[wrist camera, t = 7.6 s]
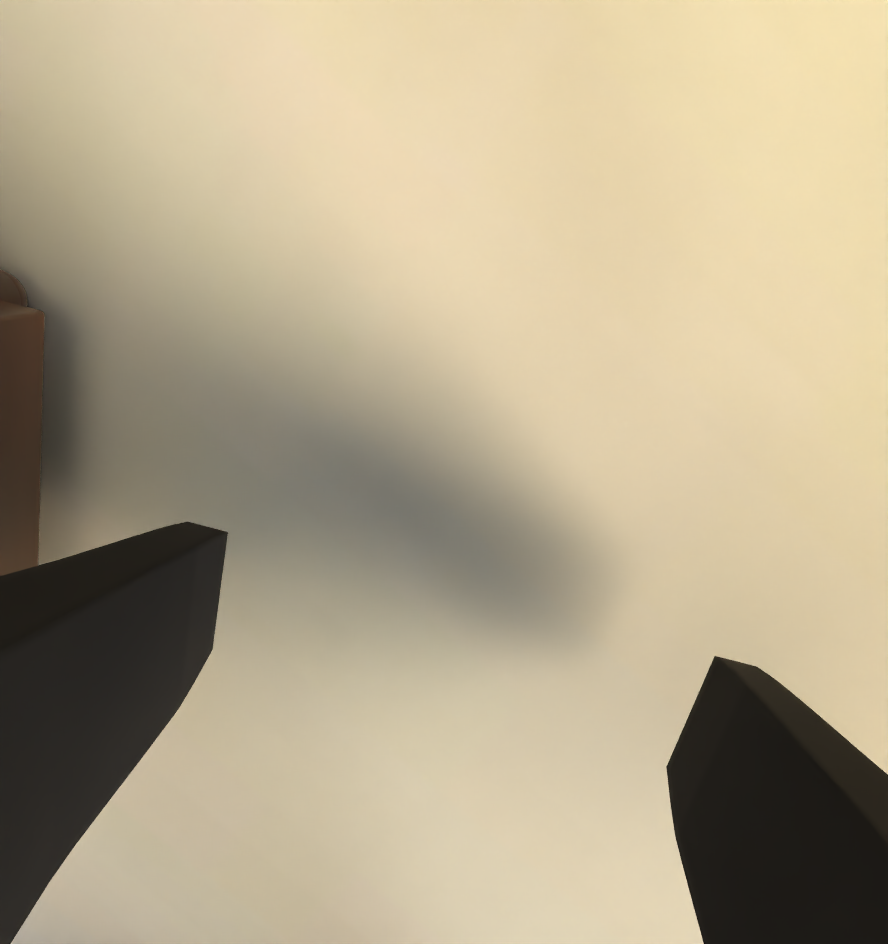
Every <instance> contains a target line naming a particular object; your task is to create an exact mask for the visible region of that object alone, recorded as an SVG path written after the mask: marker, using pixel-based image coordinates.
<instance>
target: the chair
mask: <svg viewBox="0 0 888 944" xmlns="http://www.w3.org/2000/svg"><path fill="white" fill-rule="evenodd" d="M44 320H45V315H44V312H42V311H40V310H37V309H33V308H29V307H27V295H26V292H25V289H24V287H23V286H22V284H21V283H20V282H19V281H18V280H17V279H16V278H15V277H14V276H12V275H11V274H9V273H8V272H6V271H3V270H0V576H2V575H6V574H10V573H13V572H17V571H20V570H24V569H28V568H31V567H35V566H38V552H39V513H40V475H41V436H42V397H43V358H44Z"/></svg>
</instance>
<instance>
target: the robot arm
mask: <svg viewBox="0 0 888 944" xmlns="http://www.w3.org/2000/svg"><path fill="white" fill-rule="evenodd" d="M227 534H228V532H226V531H222V530H218V529H214V528H210V527H206V526H202V525H198V524H194V523H190V522H184V523H179V524H174V525H170V526H167V527H163V528H159V529H156V530H153V531H149V532H146V533H143V534H140V535H137V536H133V537H130V538H127V539H124V540H121V541H118V542H115V543H111V544H108V545H105V546H102V547H99V548H95V549H92V550H89V551H86V552H83V553H79V554H76V555H73V556H70V557H67V558H63V559H60V560H57V561H53V562H50V563H46V564H42V565H39V566H35V567H31V568H28V569H24V570H20V571H17V572H13V573H10V574H6V575H2V576H0V944H11V942H12V940H13V939H14V937H15V936H16V934H17V932H18V931H19V929H20V928H21V926H22V925H23V923H24V921H25V920H26V918H27V917H28V915H29V913H30V912H31V910H32V909H33V907H34V905H35V904H36V902H37V901H38V899H39V897H40V896H41V894H42V893H43V891H44V890H45V888H46V886H47V885H48V883H49V882H50V880H51V879H52V877H53V876H54V874H55V873H56V872H57V870H58V869H59V867H60V866H61V864H62V863H63V862H64V860H65V859H66V857H67V856H68V855H69V853H70V852H71V850H72V849H73V847H74V846H75V845H76V843H77V842H78V841H79V839H80V838H81V837H82V835H83V834H84V833H85V832H86V830H87V829H88V828H89V826H90V825H91V824H92V822H93V821H94V820H95V818H96V817H97V816H98V814H99V813H100V812H101V811H102V809H103V808H104V807H105V805H106V804H107V803H108V801H109V800H110V799H111V797H112V796H113V795H114V794H115V792H116V791H117V790H118V788H119V787H120V786H121V784H122V783H123V782H124V780H125V779H126V778H127V777H128V775H129V774H130V773H131V771H132V770H133V769H134V767H135V766H136V765H137V763H138V762H139V761H140V760H141V758H142V757H143V756H144V754H145V753H146V752H147V750H148V749H149V748H150V746H151V745H152V744H153V742H154V741H155V740H156V738H157V737H158V736H159V734H160V733H161V732H162V730H163V729H164V728H165V726H166V725H167V724H168V722H169V721H170V720H171V718H172V717H173V716H174V714H175V713H176V712H177V710H178V709H179V707H180V706H181V704H182V702H183V701H184V699H185V697H186V696H187V694H188V692H189V690H190V689H191V687H192V685H193V684H194V682H195V680H196V678H197V677H198V675H199V673H200V671H201V669H202V668H203V666H204V664H205V662H206V660H207V659H208V657H209V655H210V653H211V651H212V649H213V641H214V634H215V626H216V618H217V611H218V603H219V595H220V588H221V580H222V573H223V565H224V557H225V550H226V542H227ZM667 775H668V784H669V793H670V802H671V809H672V816H673V823H674V830H675V836H676V840H677V844H678V848H679V852H680V856H681V860H682V864H683V868H684V872H685V875H686V879H687V883H688V887H689V890H690V894H691V898H692V902H693V905H694V909H695V913H696V916H697V920H698V924H699V927H700V931H701V935H702V938H703V942H704V944H888V775H887V774H886V773H885V772H884V771H883V770H881V769H880V768H879V767H878V766H877V765H876V764H874V763H873V762H872V761H871V760H870V759H869V758H867V757H866V756H865V755H864V754H863V753H862V752H860V751H859V750H858V749H857V748H856V747H855V746H853V745H852V744H851V743H850V742H849V741H848V740H847V739H845V738H844V737H843V736H842V735H841V734H840V733H838V732H837V731H836V730H835V729H834V728H833V727H831V726H830V725H829V724H828V723H827V722H826V721H824V720H823V719H822V718H821V717H820V716H819V715H818V714H816V713H815V712H814V711H813V710H812V709H811V708H809V707H808V706H807V705H806V704H805V703H803V702H802V701H801V700H800V699H799V698H797V697H796V696H795V695H794V694H793V693H791V692H790V691H789V690H788V689H787V688H785V687H784V686H783V685H781V684H780V683H779V682H778V681H776V680H775V679H774V678H772V677H771V676H770V675H768V674H767V673H765V672H764V671H762V670H761V669H760V668H758V667H756V666H752V665H748V664H744V663H740V662H736V661H732V660H728V659H724V658H720V657H717V656H715V657H714V659H713V661H712V664H711V666H710V668H709V671H708V673H707V675H706V678H705V680H704V682H703V684H702V687H701V689H700V691H699V694H698V696H697V698H696V701H695V703H694V705H693V707H692V710H691V712H690V714H689V717H688V719H687V721H686V724H685V726H684V728H683V730H682V733H681V735H680V737H679V740H678V742H677V744H676V747H675V749H674V751H673V753H672V756H671V758H670V760H669V763H668V765H667Z"/></svg>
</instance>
